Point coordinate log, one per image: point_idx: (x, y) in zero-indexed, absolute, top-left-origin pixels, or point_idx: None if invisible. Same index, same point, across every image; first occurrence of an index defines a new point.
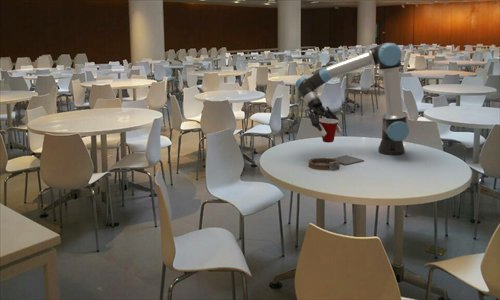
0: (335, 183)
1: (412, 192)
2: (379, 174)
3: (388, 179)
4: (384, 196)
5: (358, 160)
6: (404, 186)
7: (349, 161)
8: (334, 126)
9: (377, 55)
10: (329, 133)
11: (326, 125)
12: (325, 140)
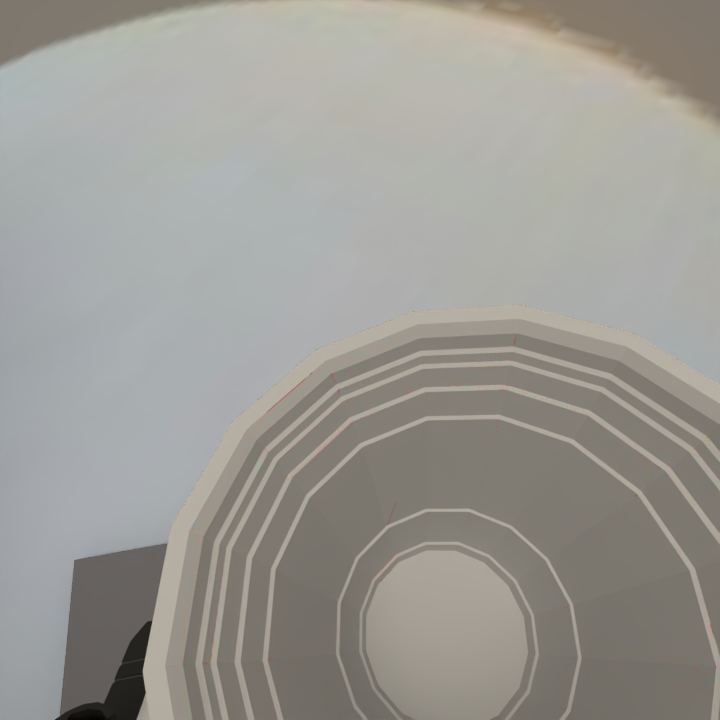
0: (598, 207)
1: (328, 26)
2: (256, 243)
3: (283, 164)
4: (464, 24)
5: (125, 570)
6: (298, 77)
7: None
8: (413, 406)
9: None
10: (503, 486)
11: (632, 429)
12: (527, 580)
